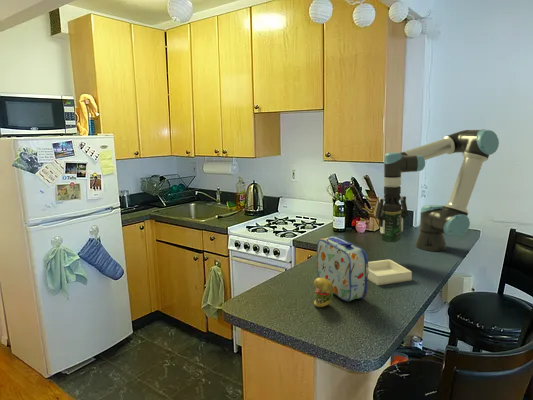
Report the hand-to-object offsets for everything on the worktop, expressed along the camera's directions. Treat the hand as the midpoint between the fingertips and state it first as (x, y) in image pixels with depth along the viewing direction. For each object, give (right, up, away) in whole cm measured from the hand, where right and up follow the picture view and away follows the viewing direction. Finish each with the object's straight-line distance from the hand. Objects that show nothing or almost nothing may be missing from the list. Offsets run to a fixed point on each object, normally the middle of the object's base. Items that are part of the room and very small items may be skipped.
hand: (391, 231), depth 183 cm
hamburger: (-39, -24, -43) cm, 63 cm away
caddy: (-9, -18, -16) cm, 25 cm away
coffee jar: (0, -4, +1) cm, 4 cm away
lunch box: (-30, -22, -31) cm, 48 cm away
